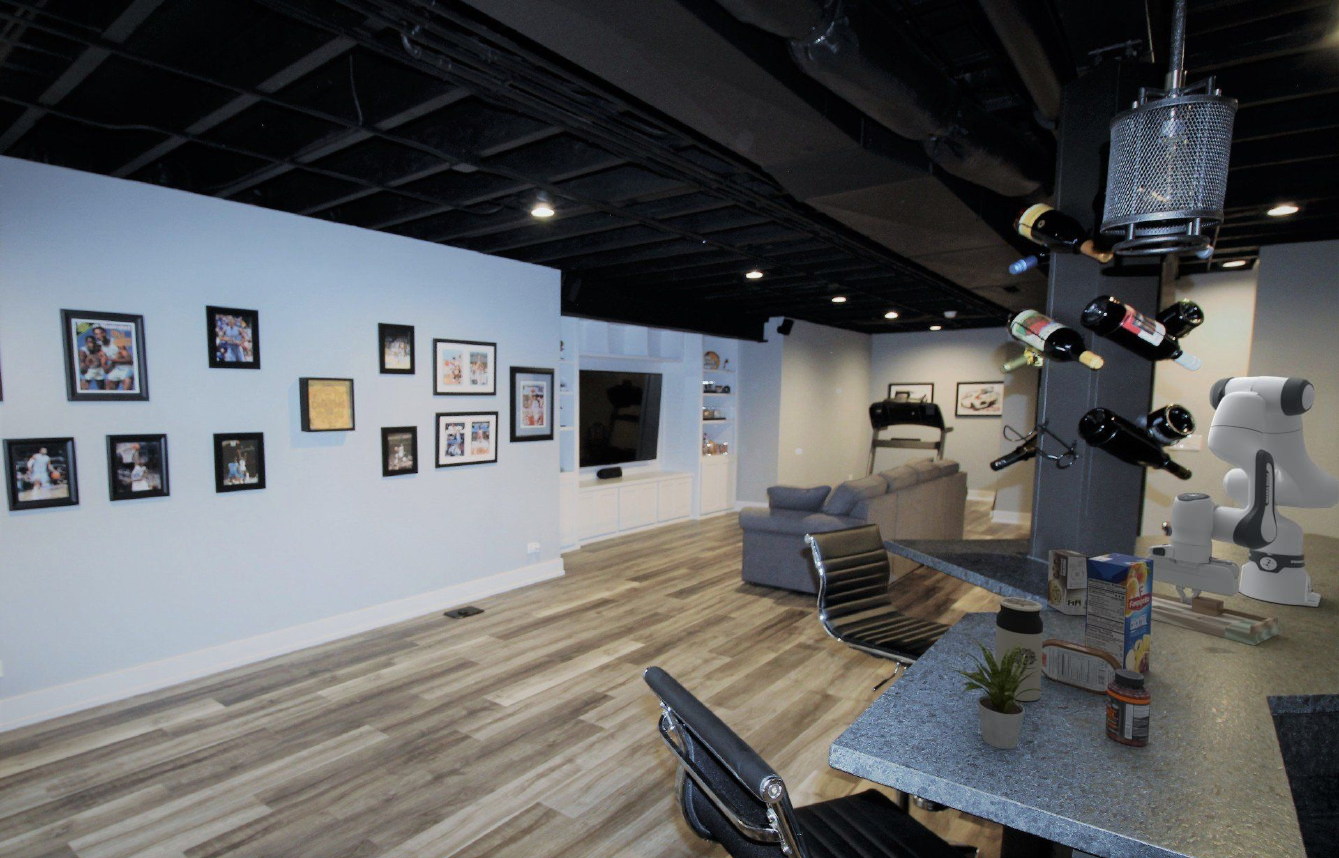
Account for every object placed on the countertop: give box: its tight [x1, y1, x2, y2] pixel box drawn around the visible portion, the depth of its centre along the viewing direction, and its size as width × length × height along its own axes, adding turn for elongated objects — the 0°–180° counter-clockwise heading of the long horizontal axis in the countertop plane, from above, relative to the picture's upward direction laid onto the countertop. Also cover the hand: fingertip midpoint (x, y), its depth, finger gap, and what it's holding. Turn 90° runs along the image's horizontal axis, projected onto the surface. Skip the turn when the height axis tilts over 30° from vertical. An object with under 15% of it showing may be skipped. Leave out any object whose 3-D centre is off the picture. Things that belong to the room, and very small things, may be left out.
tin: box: [1041, 638, 1122, 695], centre depth 126 cm, size 15×3×8 cm, turn 44°
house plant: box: [952, 638, 1046, 750], centre depth 106 cm, size 14×14×16 cm
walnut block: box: [1191, 595, 1225, 617], centre depth 165 cm, size 5×5×4 cm
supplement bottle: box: [1105, 669, 1151, 747], centre depth 106 cm, size 6×6×11 cm
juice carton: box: [1084, 552, 1154, 675], centre depth 134 cm, size 12×8×24 cm, turn 122°
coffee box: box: [1047, 549, 1092, 616], centre depth 174 cm, size 9×6×16 cm
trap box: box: [1151, 591, 1279, 646], centre depth 166 cm, size 15×29×4 cm, turn 30°
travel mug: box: [994, 596, 1044, 702], centre depth 122 cm, size 8×8×18 cm
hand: (1187, 603), depth 169 cm, fingers closed
